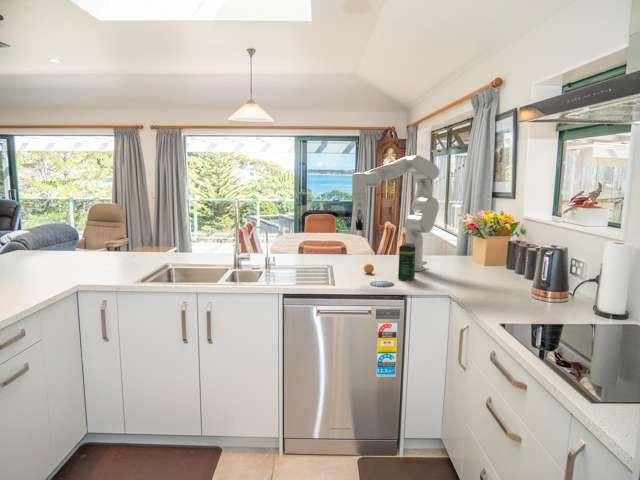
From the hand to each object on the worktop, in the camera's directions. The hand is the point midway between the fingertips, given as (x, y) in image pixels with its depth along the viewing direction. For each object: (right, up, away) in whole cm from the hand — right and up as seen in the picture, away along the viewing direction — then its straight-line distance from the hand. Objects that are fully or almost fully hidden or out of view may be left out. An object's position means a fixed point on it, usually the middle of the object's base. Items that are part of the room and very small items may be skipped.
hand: (359, 229), depth 215 cm
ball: (+6, -21, +10) cm, 25 cm away
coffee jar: (+24, -26, -3) cm, 36 cm away
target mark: (+10, -27, -14) cm, 32 cm away
